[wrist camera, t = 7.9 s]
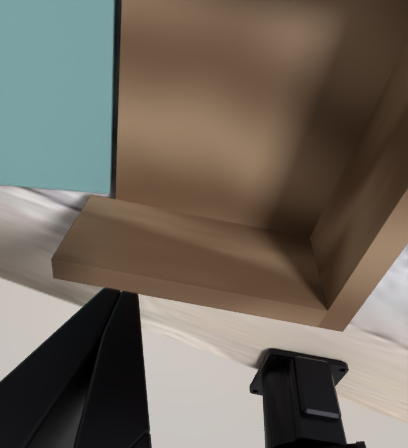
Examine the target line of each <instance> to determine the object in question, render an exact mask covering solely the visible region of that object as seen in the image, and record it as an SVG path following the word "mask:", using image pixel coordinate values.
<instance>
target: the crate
mask: <svg viewBox="0 0 408 448" xmlns="http://www.w3.org/2000/svg"><path fill="white" fill-rule="evenodd" d="M407 244H408V0H122V9H121V40H120V72H119V103H118V135H117V166H116V198H115V199H112V198H106V197H101V196H96V195H91V196H90V197H89V199H88V201H87V202H86V204H85V205H84V207H83V209H82V210H81V212H80V214H79V215H78V217H77V218H76V220H75V222H74V223H73V225H72V226H71V228H70V230H69V231H68V233H67V234H66V236H65V238H64V239H63V241H62V243H61V244H60V246H59V247H58V249H57V251H56V252H55V254H54V255H53V257H52V259H51V260H52V268H53V277H54V278H56V279H61V280H67V281H72V282H77V283H83V284H88V285H94V286H99V287H104V288H113V289H118V290H120V291H129V292H135V293H137V294H142V295H147V296H153V297H158V298H164V299H169V300H174V301H180V302H185V303H190V304H196V305H201V306H207V307H212V308H217V309H223V310H228V311H234V312H239V313H244V314H250V315H255V316H261V317H266V318H271V319H277V320H282V321H287V322H293V323H298V324H304V325H309V326H314V327H320V328H325V329H331V330H336V331H341V332H343V331H344V329H345V328H346V326H347V325H348V324H349V322H350V321H351V320H352V318H353V317H354V316H355V314H356V313H357V312H358V310H359V309H360V307H361V306H362V305H363V303H364V302H365V301H366V299H367V298H368V297H369V295H370V294H371V292H372V291H373V290H374V288H375V287H376V286H377V284H378V283H379V282H380V280H381V279H382V278H383V276H384V275H385V273H386V272H387V271H388V269H389V268H390V267H391V265H392V264H393V263H394V261H395V260H396V258H397V257H398V256H399V254H400V253H401V252H402V250H403V249H404V248H405V246H406V245H407Z"/></svg>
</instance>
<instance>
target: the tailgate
mask: <svg viewBox="0 0 408 448" xmlns="http://www.w3.org/2000/svg"><path fill="white" fill-rule="evenodd" d="M115 5H116V0H0V185H8V186H21V187H33V188H46V189H59V190H71V191H84V192H96V193H109V194H110V190H111V183H112V139H113V94H114V49H115Z"/></svg>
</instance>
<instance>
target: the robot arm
mask: <svg viewBox="0 0 408 448" xmlns="http://www.w3.org/2000/svg"><path fill="white" fill-rule="evenodd" d="M348 370H349V369H348V365H347V363H345V362H341V361H335V360H330V359H324V358H319V357H313V356H308V355H302V354H297V353H291V352H286V351H280V350H270V351H269V352H268V353H267V355H266V357H265V359H264V360H263V362H262V364H261V366H260V368H259V370H258V372H257V374H256V375H255V377H254V379H253V381H252V383H251V384H250V392H251V393H252V394H257V395H263V411H264V431H265V448H366V445H365V442H364V441H360V442H356V443H355V444H347V442H346V438H345V433H344V428H343V423H342V419H341V412H340V407H339V402H338V398H337V393H336V389H335V386H336V385H337V384H338V382H339V381H340V380H341V379H342V378H343V377H344V375H345V374H346V373H347V372H348ZM148 414H149V413H148V402H147V390H146V380H145V367H144V357H143V344H142V332H141V321H140V309H139V298H138V294H137V293H135V292H129V291H122V292H121V291H120V290H118V289H113V288H103V289H102V290H101V291H100V292H99V293H97V294H96V295H95V296H94V297H93V298H92V299H91V300H90V301H89V302H88V303H86V304H85V305H84V306H83V307H82V308H81V309H80V310H79V311H78V312H77V313H76V314H74V315H73V316H72V317H71V318H70V319H69V320H68V321H67V322H65V323H64V324H63V325H62V326H61V327H60V328H59V329H58V330H57V331H56V332H54V333H53V334H52V335H51V336H50V337H49V338H48V339H47V340H46V341H45V342H43V343H42V344H41V345H40V346H39V347H38V348H37V349H36V350H35V351H33V352H32V353H31V354H30V355H29V356H28V357H27V358H26V359H25V360H24V361H23V362H21V363H20V364H19V365H18V366H17V367H16V368H15V369H14V370H13V371H11V372H10V373H9V374H8V375H7V376H6V377H5V378H4V379H3V380H1V381H0V448H152V446H151V435H150V433H149V432H150V425H149V415H148Z"/></svg>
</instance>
